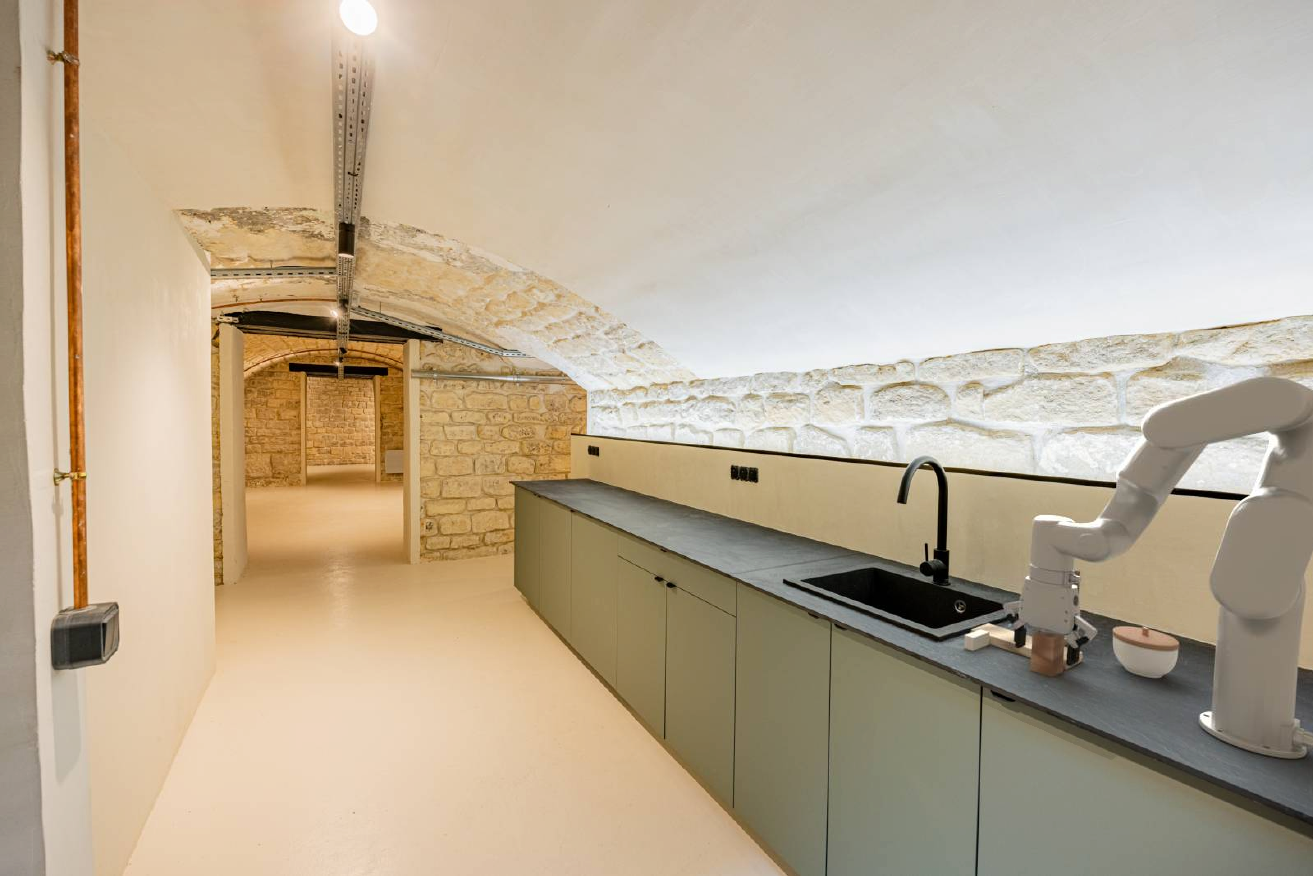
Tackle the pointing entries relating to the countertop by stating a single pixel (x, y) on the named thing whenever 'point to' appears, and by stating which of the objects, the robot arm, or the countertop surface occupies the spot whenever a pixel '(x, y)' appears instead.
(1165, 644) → the lidded jar
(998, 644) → the oak board
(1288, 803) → the countertop surface
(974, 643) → the end stop
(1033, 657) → the upright brown wood block
